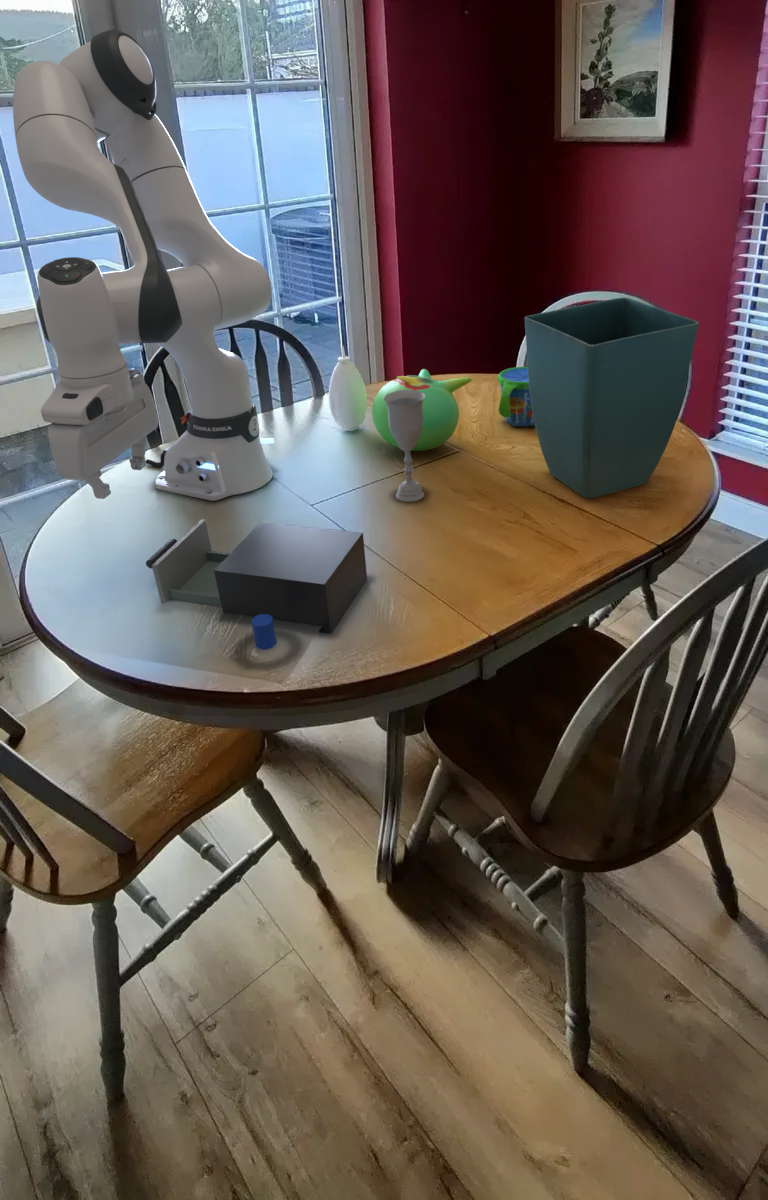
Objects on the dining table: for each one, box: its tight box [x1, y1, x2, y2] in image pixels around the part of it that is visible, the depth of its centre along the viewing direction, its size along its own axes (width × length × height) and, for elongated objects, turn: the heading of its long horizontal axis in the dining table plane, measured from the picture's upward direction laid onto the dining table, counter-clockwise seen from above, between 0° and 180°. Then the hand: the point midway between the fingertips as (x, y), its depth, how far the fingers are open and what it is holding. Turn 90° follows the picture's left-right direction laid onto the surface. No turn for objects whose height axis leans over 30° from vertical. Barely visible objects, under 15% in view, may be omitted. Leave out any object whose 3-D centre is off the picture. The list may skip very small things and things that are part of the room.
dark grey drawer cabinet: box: [214, 521, 368, 635], centre depth 119 cm, size 17×15×8 cm
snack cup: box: [497, 366, 535, 428], centre depth 170 cm, size 16×10×10 cm
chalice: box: [384, 390, 425, 502], centre depth 142 cm, size 7×7×18 cm
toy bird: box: [371, 368, 473, 452], centre depth 162 cm, size 18×17×15 cm
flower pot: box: [524, 297, 700, 500], centre depth 140 cm, size 20×20×28 cm
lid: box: [251, 614, 278, 650], centre depth 110 cm, size 8×8×5 cm
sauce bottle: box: [328, 344, 368, 432], centre depth 171 cm, size 8×8×18 cm
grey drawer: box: [145, 519, 231, 607], centre depth 123 cm, size 20×14×7 cm
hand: (121, 481), depth 120 cm, fingers open, 8 cm apart
